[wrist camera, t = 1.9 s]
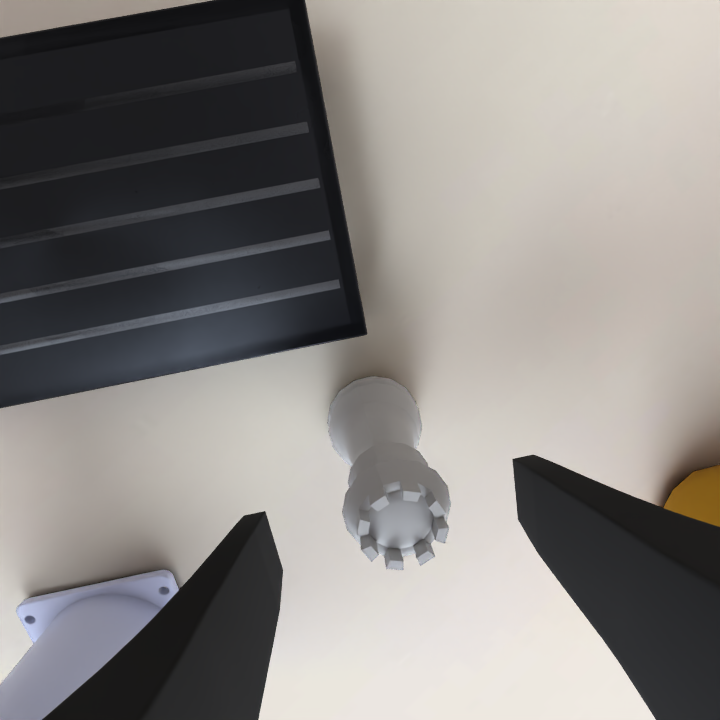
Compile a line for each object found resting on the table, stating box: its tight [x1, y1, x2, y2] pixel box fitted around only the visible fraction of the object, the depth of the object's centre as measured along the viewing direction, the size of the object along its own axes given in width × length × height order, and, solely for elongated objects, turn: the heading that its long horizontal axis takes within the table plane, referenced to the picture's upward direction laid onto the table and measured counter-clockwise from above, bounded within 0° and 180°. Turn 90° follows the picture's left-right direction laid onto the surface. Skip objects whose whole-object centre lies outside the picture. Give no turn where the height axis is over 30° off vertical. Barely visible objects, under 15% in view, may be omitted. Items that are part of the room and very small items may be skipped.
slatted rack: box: [0, 0, 367, 408], centre depth 13 cm, size 11×19×4 cm, turn 101°
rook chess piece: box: [327, 376, 451, 570], centre depth 13 cm, size 4×4×8 cm
